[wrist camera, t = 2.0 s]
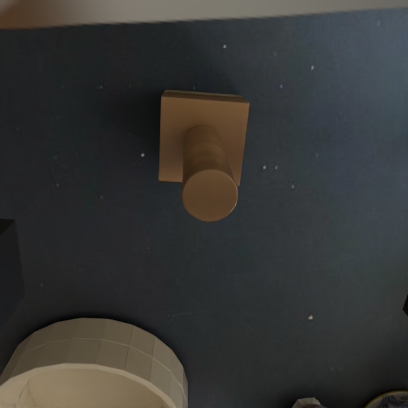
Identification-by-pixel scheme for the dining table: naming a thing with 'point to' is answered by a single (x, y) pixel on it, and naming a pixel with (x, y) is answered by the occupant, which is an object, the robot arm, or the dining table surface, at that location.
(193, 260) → the dining table surface
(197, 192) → the brown wooden stamp
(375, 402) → the chinaware
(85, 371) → the bowl
